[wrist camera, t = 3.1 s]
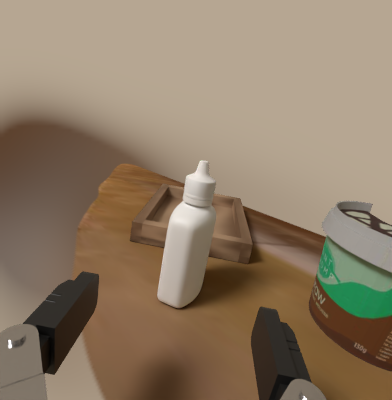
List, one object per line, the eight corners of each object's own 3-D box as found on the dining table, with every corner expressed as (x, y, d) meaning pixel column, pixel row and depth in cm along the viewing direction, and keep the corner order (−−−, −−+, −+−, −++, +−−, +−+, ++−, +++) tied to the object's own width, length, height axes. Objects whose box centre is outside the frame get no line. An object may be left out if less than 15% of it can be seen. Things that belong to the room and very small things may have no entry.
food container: (282, 274, 30) (309, 190, 27) (336, 285, 30) (369, 202, 27) (325, 376, 18) (380, 248, 15) (413, 393, 18) (487, 268, 15)
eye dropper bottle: (142, 284, 24) (159, 153, 21) (190, 269, 28) (212, 156, 24) (168, 315, 21) (193, 168, 18) (218, 294, 25) (248, 168, 21)
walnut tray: (237, 211, 48) (240, 198, 47) (247, 263, 31) (253, 244, 30) (161, 197, 48) (162, 183, 48) (130, 241, 31) (132, 221, 31)
